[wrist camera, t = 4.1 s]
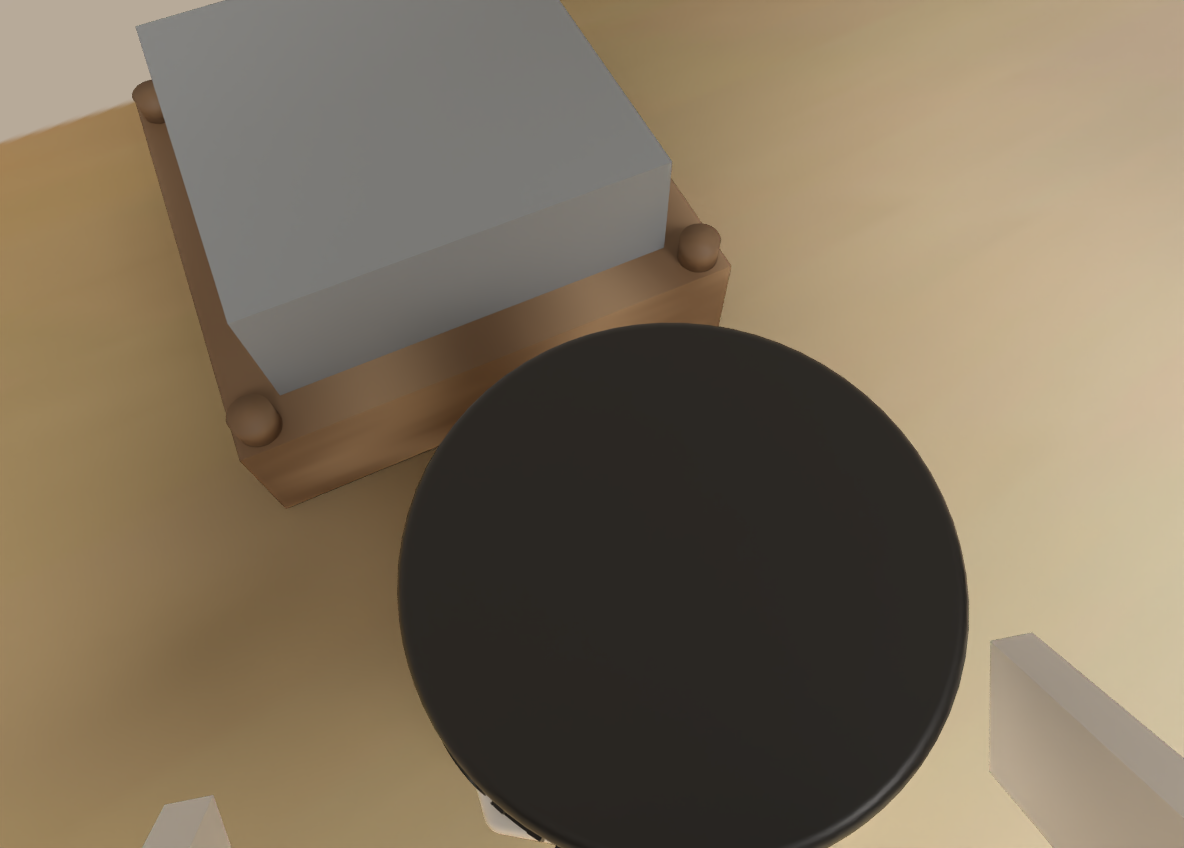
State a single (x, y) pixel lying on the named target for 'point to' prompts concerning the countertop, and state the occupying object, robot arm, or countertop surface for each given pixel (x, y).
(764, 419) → the jar
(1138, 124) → the countertop surface
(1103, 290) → the countertop surface
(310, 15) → the grey top brick
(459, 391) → the walnut base brick
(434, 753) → the countertop surface
